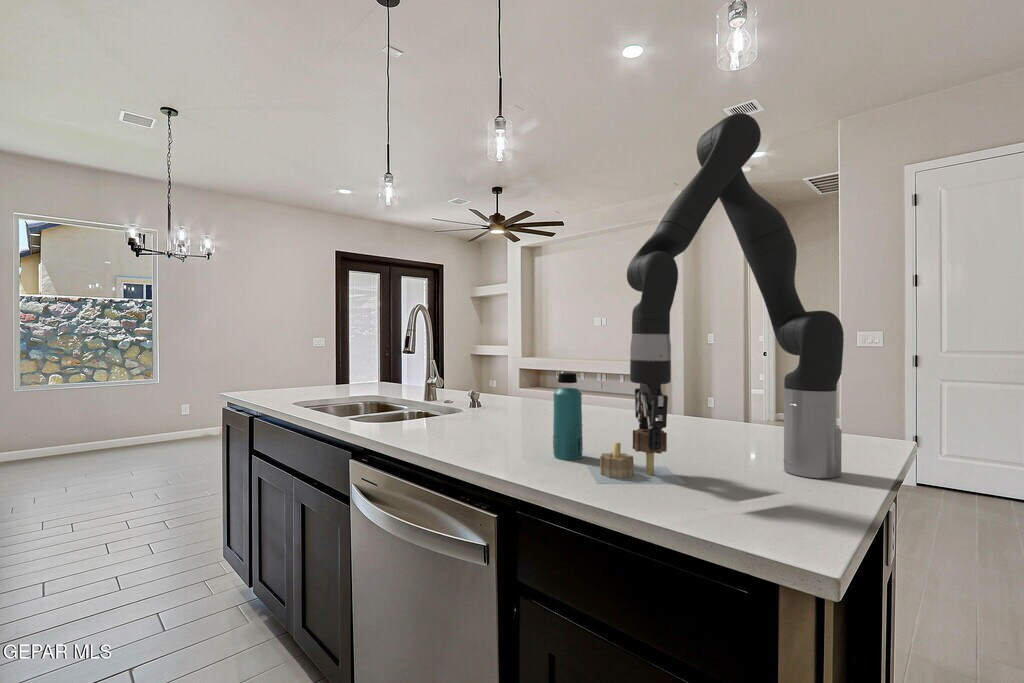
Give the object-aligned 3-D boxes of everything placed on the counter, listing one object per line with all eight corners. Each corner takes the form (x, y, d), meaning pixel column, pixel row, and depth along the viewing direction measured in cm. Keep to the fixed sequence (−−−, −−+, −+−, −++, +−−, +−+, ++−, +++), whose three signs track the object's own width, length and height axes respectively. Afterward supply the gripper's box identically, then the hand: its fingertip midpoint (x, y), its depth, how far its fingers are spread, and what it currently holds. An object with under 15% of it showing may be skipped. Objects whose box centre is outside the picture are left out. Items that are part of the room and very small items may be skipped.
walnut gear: (660, 446, 96) (660, 428, 96) (670, 453, 90) (670, 434, 90) (629, 446, 96) (630, 428, 96) (637, 453, 90) (637, 434, 90)
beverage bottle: (581, 468, 103) (582, 374, 103) (550, 466, 105) (551, 373, 104) (583, 460, 110) (583, 372, 110) (554, 459, 111) (554, 371, 111)
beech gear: (620, 468, 97) (620, 451, 97) (639, 476, 91) (639, 458, 91) (594, 471, 95) (594, 453, 95) (612, 480, 89) (612, 461, 89)
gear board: (665, 473, 99) (665, 437, 99) (686, 492, 87) (686, 450, 87) (586, 473, 99) (586, 436, 99) (596, 491, 87) (597, 450, 87)
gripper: (683, 359, 86) (682, 454, 86) (658, 357, 100) (658, 438, 100) (640, 359, 86) (639, 454, 86) (622, 356, 100) (621, 438, 100)
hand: (649, 445), depth 93 cm, fingers closed on walnut gear, 6 cm apart
